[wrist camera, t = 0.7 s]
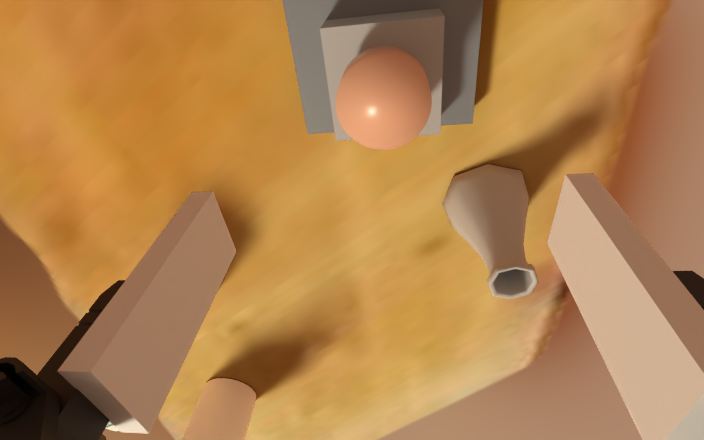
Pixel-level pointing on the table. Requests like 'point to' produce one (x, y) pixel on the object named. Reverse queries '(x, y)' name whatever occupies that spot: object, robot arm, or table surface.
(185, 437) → the bottle
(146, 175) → the table surface
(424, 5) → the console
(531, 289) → the flask
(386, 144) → the button terracotta
